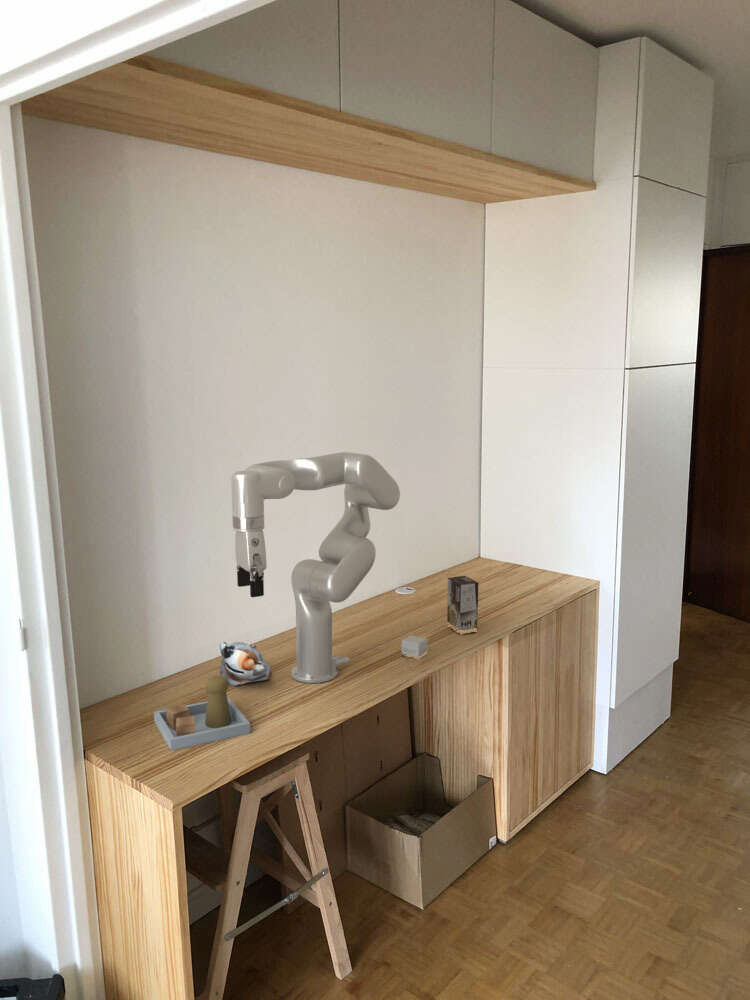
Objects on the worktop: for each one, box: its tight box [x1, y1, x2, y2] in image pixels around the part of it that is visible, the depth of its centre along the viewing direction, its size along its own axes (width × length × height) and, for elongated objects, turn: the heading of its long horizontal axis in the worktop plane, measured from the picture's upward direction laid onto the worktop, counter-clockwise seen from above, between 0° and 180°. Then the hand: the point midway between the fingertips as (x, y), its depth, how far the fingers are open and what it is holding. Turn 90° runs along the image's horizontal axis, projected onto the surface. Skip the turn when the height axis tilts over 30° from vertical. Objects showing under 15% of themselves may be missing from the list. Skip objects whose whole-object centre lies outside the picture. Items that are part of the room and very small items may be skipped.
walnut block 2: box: [176, 716, 195, 737], centre depth 186 cm, size 4×4×4 cm
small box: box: [401, 635, 429, 657], centre depth 237 cm, size 6×6×5 cm
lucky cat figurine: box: [219, 641, 272, 687], centre depth 217 cm, size 15×12×14 cm
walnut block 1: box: [165, 703, 190, 730], centre depth 192 cm, size 4×4×4 cm
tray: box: [153, 696, 251, 752], centre depth 191 cm, size 18×16×3 cm
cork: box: [204, 675, 231, 728], centre depth 193 cm, size 6×6×11 cm
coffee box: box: [446, 575, 479, 630], centre depth 257 cm, size 9×6×16 cm
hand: (250, 591), depth 202 cm, fingers open, 9 cm apart
